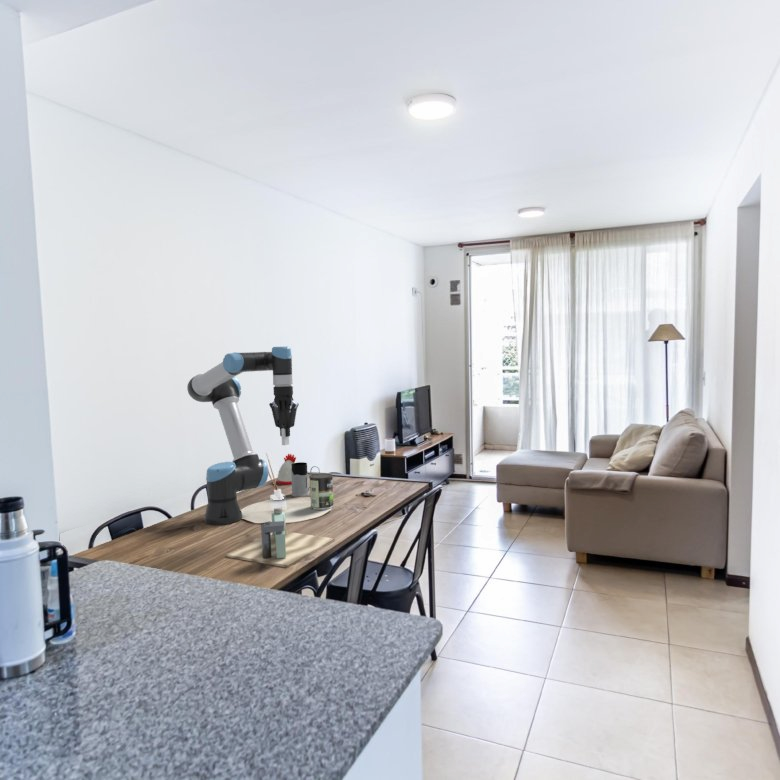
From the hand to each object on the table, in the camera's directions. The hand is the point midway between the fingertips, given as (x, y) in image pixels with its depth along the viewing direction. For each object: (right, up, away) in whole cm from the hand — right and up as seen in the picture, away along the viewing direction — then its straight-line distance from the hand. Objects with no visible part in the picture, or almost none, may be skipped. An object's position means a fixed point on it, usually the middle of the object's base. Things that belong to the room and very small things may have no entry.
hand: (285, 444), depth 229 cm
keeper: (+3, -35, -36) cm, 50 cm away
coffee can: (+11, -31, +27) cm, 42 cm away
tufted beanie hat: (-12, -28, +79) cm, 85 cm away
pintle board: (+3, -34, -26) cm, 43 cm away
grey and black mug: (+1, -29, +51) cm, 58 cm away
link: (+2, -33, -24) cm, 41 cm away
